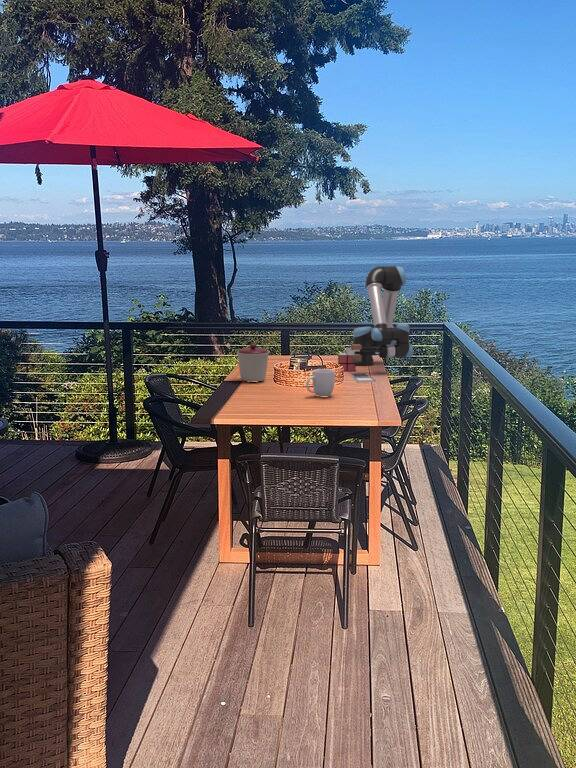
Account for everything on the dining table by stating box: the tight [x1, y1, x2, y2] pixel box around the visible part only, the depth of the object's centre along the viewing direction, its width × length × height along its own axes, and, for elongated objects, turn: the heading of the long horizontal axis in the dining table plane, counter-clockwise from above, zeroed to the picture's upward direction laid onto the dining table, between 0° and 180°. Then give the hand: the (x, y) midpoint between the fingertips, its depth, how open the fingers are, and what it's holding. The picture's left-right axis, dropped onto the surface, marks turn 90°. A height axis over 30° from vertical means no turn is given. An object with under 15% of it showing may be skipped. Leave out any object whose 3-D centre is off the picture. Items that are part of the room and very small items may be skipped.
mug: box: [305, 368, 336, 397], centre depth 399 cm, size 15×11×13 cm
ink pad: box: [349, 373, 370, 378], centre depth 457 cm, size 9×9×1 cm
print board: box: [351, 376, 377, 383], centre depth 446 cm, size 11×11×1 cm
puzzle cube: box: [337, 352, 356, 373], centre depth 479 cm, size 10×10×10 cm
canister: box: [236, 343, 270, 382], centre depth 440 cm, size 18×18×21 cm
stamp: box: [350, 343, 362, 363], centre depth 463 cm, size 5×5×10 cm
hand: (347, 351), depth 462 cm, fingers closed on stamp, 5 cm apart
